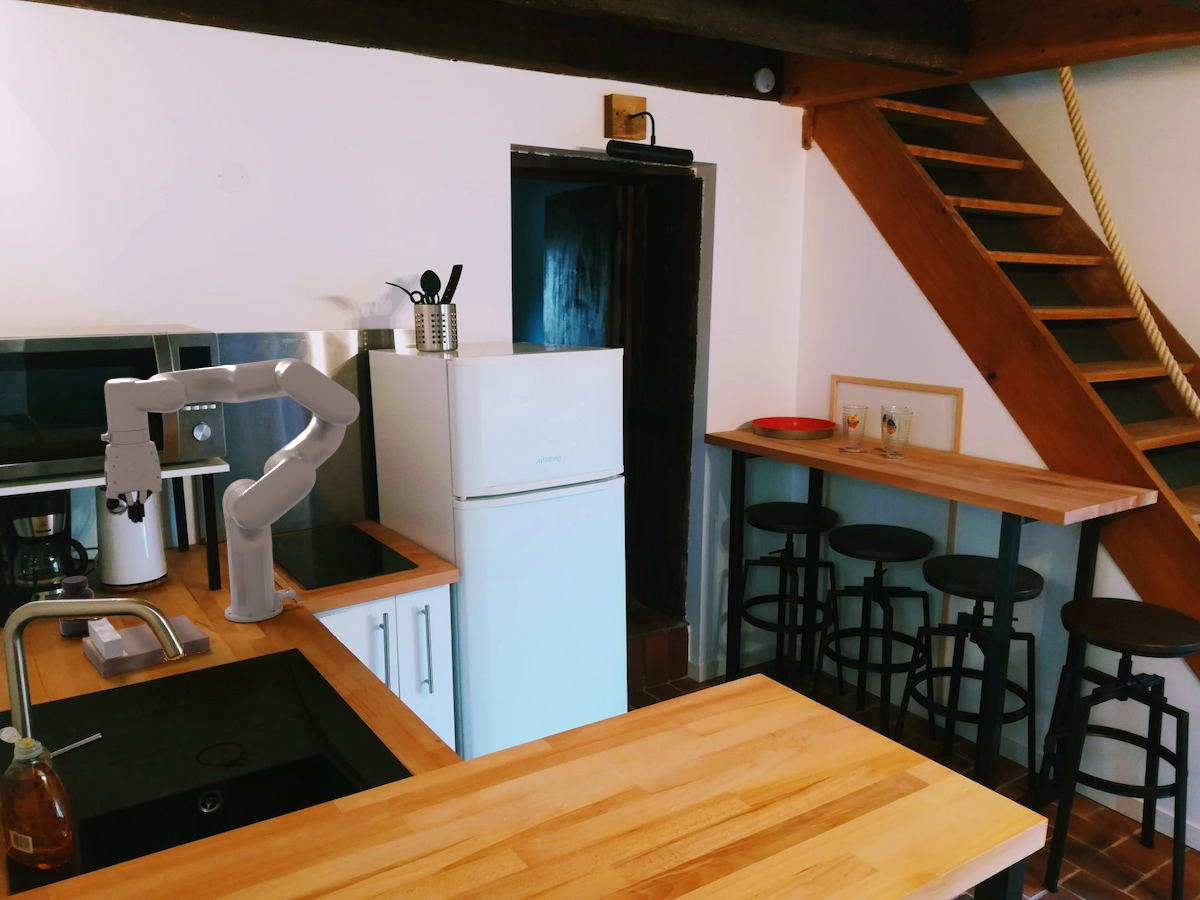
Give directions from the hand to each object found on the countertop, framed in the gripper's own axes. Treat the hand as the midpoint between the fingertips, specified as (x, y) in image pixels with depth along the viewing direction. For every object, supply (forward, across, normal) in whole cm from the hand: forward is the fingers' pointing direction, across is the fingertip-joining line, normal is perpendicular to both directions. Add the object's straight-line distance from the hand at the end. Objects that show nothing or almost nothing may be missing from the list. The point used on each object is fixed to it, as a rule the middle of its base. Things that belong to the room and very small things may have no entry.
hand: (137, 521), depth 189 cm
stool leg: (+22, -11, -12) cm, 27 cm away
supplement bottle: (+25, -11, +10) cm, 29 cm away
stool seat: (+25, -3, -11) cm, 28 cm away
